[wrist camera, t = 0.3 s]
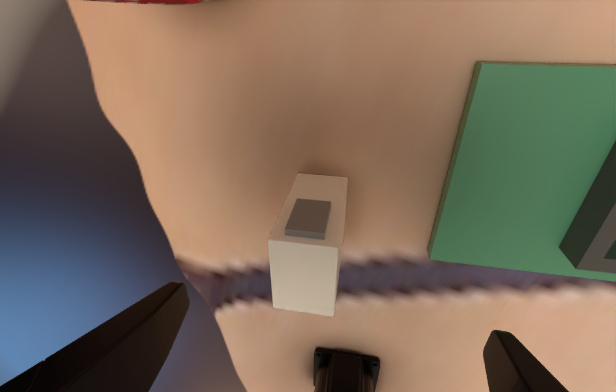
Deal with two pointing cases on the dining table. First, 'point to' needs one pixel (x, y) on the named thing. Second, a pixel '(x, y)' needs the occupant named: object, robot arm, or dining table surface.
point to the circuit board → (533, 172)
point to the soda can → (155, 1)
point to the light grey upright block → (309, 245)
